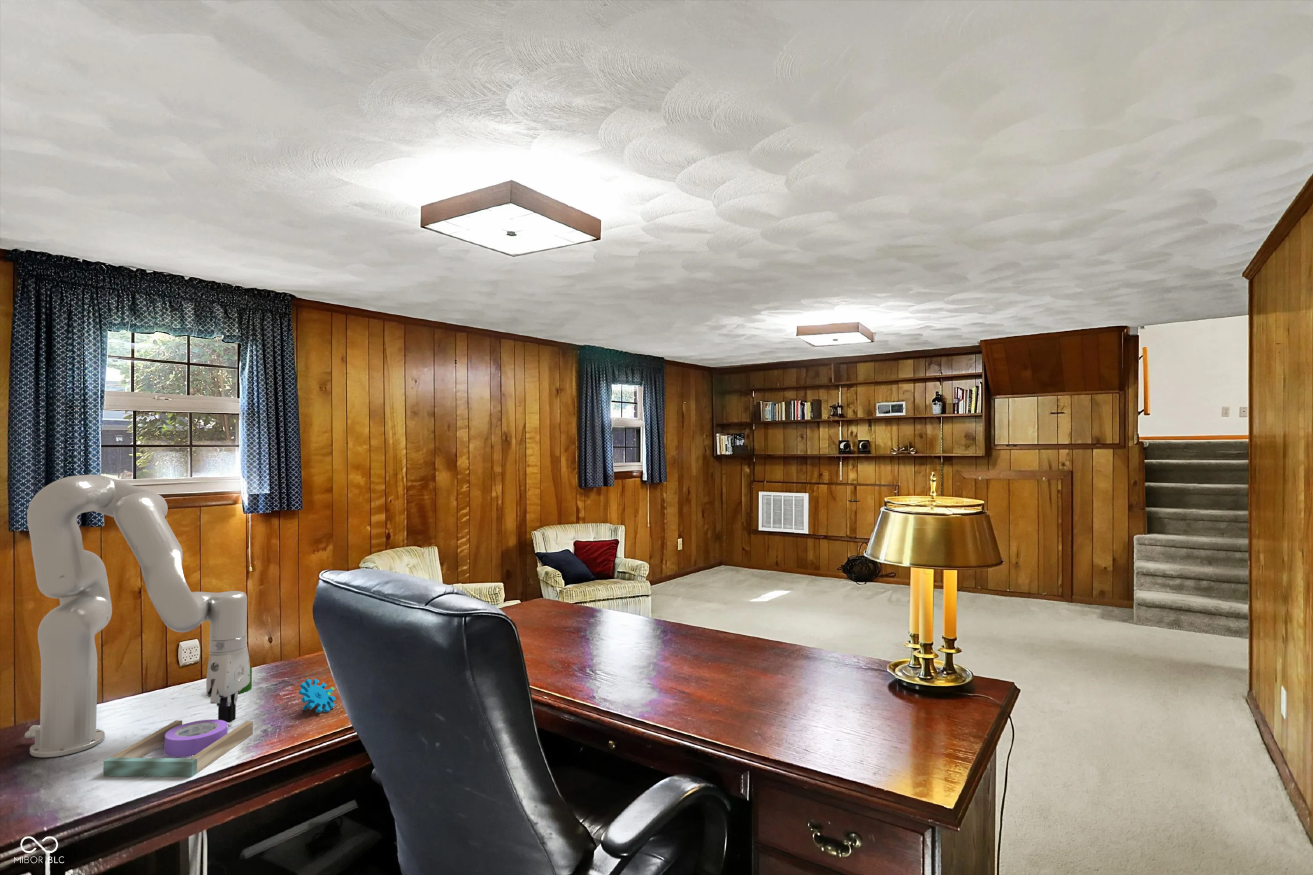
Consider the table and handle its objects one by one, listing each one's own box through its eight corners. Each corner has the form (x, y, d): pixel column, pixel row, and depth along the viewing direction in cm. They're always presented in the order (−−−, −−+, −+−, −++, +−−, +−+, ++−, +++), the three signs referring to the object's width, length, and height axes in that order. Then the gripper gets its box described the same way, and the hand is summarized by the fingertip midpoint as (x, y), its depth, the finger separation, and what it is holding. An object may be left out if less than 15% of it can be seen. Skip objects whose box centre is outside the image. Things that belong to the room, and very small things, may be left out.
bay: (103, 775, 138) (103, 760, 138) (175, 733, 158) (175, 720, 158) (191, 776, 137) (192, 761, 137) (252, 733, 158) (252, 721, 158)
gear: (316, 713, 166) (295, 680, 169) (299, 729, 167) (279, 696, 169) (346, 703, 177) (326, 672, 180) (331, 718, 177) (311, 687, 180)
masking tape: (178, 737, 156) (179, 720, 156) (235, 733, 159) (235, 716, 159) (153, 760, 145) (154, 742, 145) (215, 755, 148) (215, 737, 148)
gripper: (223, 653, 155) (222, 734, 155) (261, 635, 170) (260, 709, 170) (191, 653, 155) (189, 734, 155) (232, 635, 170) (230, 709, 170)
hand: (226, 720), depth 163 cm, fingers closed
